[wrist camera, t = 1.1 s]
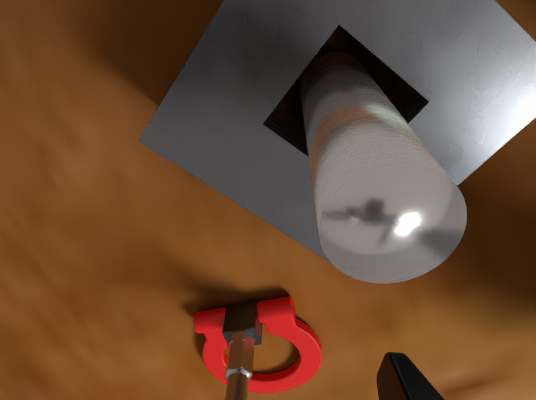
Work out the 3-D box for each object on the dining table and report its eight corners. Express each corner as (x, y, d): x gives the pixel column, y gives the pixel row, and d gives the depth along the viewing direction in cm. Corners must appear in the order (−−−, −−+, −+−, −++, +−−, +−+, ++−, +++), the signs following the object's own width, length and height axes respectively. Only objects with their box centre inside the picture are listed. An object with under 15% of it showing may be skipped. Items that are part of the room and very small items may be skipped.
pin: (381, 79, 19) (498, 217, 9) (336, 130, 20) (391, 303, 10) (329, 36, 18) (391, 132, 8) (286, 93, 19) (289, 239, 9)
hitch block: (520, 60, 18) (574, 82, 15) (343, 231, 23) (353, 277, 20) (317, -140, 15) (327, -172, 12) (163, 110, 20) (138, 140, 17)
